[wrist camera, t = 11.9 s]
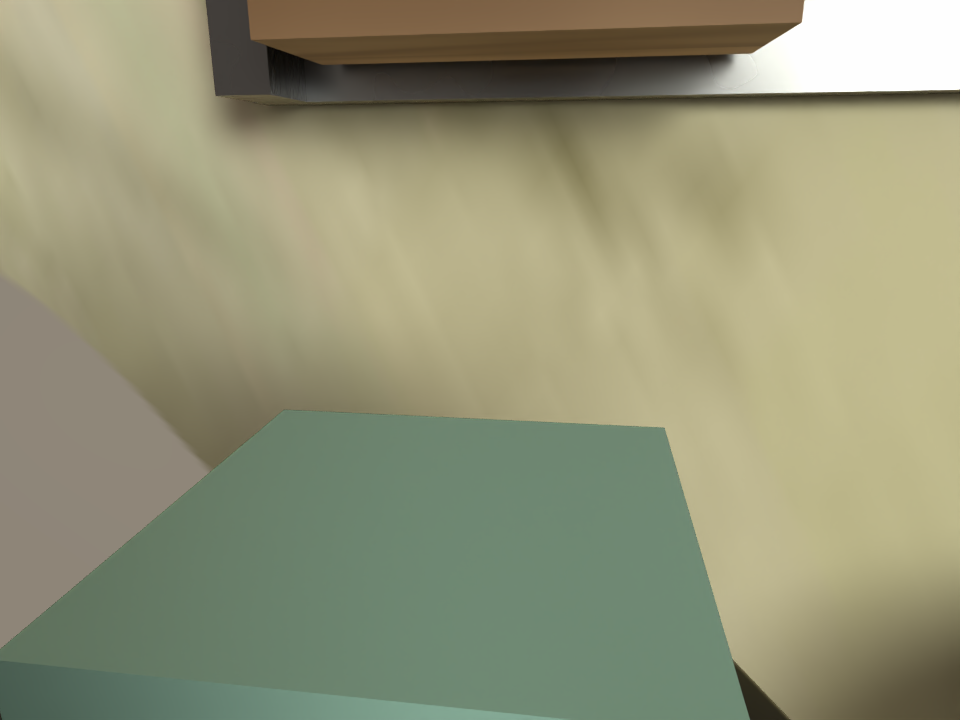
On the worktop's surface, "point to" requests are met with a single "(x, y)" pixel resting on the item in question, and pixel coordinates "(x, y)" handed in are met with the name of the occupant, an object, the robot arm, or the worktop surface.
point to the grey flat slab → (623, 64)
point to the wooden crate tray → (515, 28)
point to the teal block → (397, 585)
